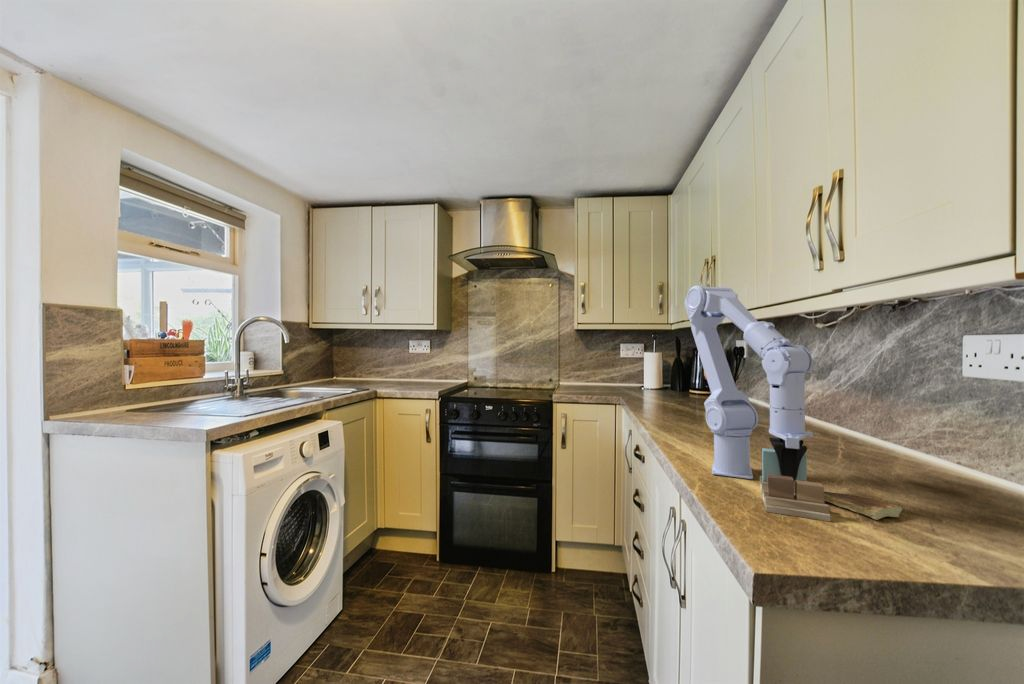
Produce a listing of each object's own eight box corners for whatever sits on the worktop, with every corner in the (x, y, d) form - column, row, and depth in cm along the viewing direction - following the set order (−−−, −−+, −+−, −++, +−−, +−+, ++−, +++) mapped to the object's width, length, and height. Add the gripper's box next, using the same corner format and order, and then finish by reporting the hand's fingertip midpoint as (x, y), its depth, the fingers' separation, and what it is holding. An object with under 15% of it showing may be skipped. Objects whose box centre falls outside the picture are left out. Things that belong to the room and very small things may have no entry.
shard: (810, 497, 78) (810, 487, 78) (840, 494, 80) (840, 485, 80) (874, 520, 68) (874, 509, 68) (907, 517, 70) (907, 506, 70)
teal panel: (762, 482, 83) (762, 448, 83) (804, 488, 80) (804, 452, 80) (763, 486, 81) (763, 450, 81) (806, 492, 78) (806, 455, 78)
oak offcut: (795, 502, 73) (794, 480, 73) (821, 506, 71) (821, 483, 71) (796, 506, 71) (796, 483, 71) (824, 510, 70) (823, 486, 70)
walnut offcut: (767, 498, 75) (767, 474, 75) (792, 502, 73) (792, 477, 73) (768, 502, 73) (768, 477, 73) (794, 506, 72) (793, 480, 72)
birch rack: (759, 485, 85) (759, 475, 85) (813, 492, 81) (813, 481, 81) (766, 511, 72) (766, 499, 72) (830, 521, 68) (830, 508, 68)
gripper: (819, 414, 72) (820, 492, 72) (805, 404, 85) (806, 470, 85) (772, 412, 75) (772, 486, 75) (765, 402, 88) (765, 466, 88)
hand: (787, 477), depth 80 cm, fingers closed on teal panel, 2 cm apart
